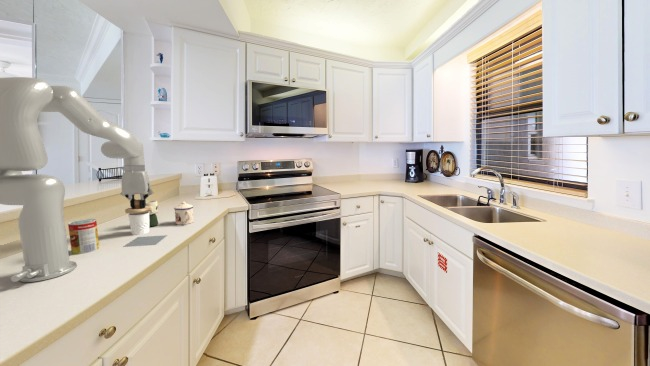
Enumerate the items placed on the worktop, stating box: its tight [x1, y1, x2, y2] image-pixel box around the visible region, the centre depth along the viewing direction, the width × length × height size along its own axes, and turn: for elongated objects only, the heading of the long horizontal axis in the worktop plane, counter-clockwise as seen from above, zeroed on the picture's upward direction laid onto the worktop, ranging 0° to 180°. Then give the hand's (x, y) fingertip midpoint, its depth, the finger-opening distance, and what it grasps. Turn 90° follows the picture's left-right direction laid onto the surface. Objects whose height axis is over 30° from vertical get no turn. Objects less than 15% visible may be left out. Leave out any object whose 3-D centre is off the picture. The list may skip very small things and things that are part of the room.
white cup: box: [127, 211, 151, 236], centre depth 119 cm, size 8×8×10 cm
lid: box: [124, 198, 152, 214], centre depth 118 cm, size 10×10×5 cm
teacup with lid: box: [173, 201, 195, 226], centre depth 137 cm, size 12×9×12 cm
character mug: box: [146, 200, 159, 227], centre depth 131 cm, size 11×7×13 cm, turn 43°
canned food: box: [67, 218, 100, 255], centre depth 98 cm, size 8×8×12 cm
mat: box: [122, 234, 168, 248], centre depth 109 cm, size 12×12×1 cm
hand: (138, 207), depth 118 cm, fingers closed on lid, 3 cm apart
